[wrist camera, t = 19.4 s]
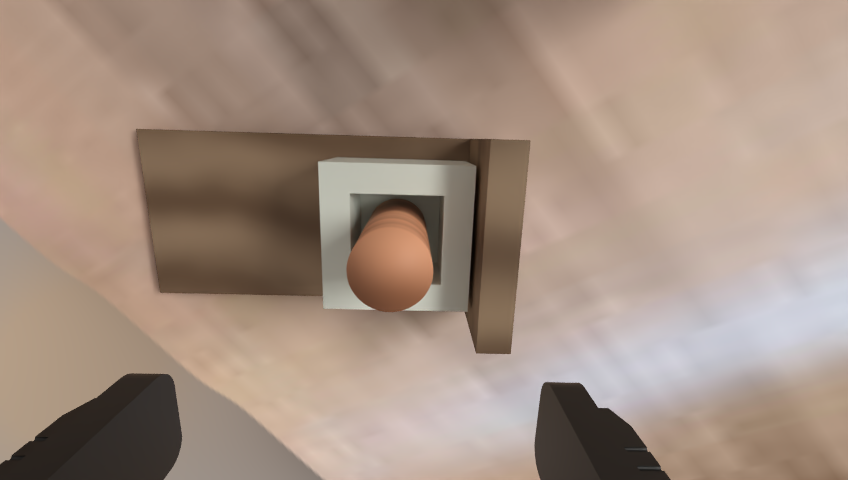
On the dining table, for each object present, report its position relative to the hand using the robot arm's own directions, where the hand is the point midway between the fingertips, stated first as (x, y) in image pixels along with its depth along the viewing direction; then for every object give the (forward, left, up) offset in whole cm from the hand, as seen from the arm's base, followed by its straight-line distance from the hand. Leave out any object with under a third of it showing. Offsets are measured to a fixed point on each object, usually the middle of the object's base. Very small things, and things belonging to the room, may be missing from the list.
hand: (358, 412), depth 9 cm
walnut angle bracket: (0, -6, -22) cm, 23 cm away
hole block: (0, 0, -21) cm, 21 cm away
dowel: (0, 0, -20) cm, 20 cm away
